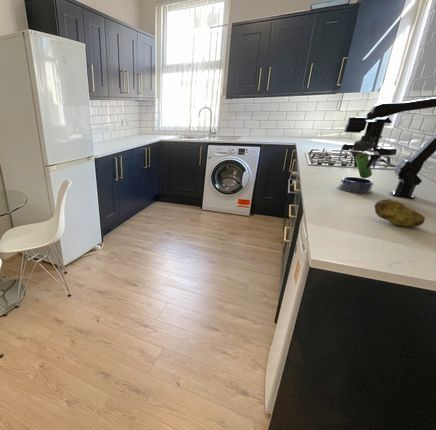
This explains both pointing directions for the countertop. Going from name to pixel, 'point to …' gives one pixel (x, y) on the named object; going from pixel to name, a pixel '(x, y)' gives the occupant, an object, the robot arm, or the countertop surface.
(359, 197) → the countertop surface
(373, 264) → the countertop surface
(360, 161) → the courgette
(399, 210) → the potato
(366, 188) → the blue bowl
